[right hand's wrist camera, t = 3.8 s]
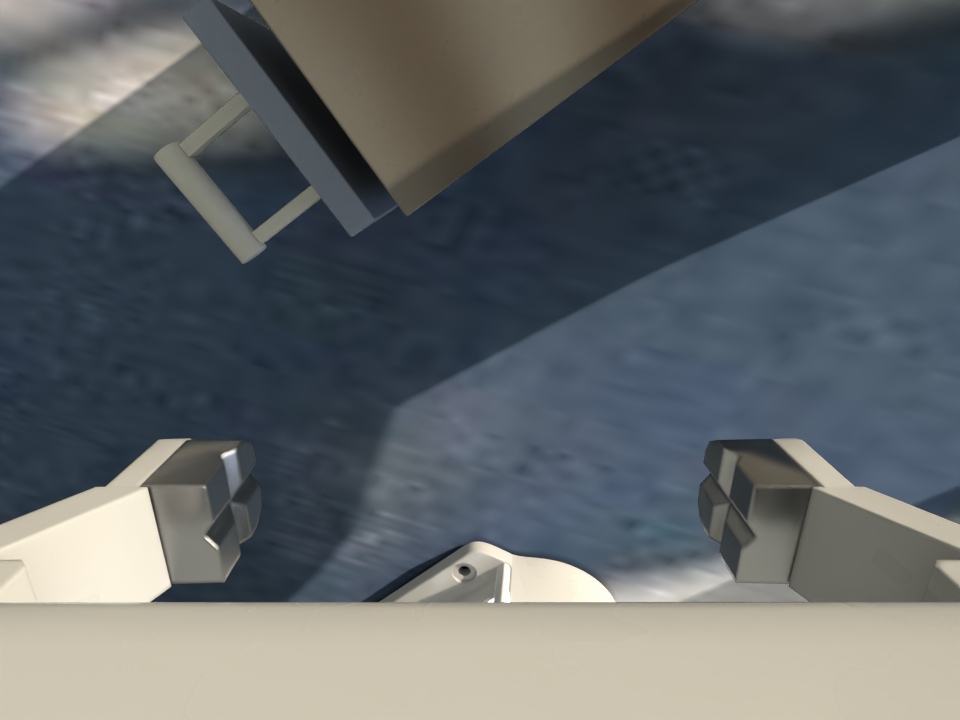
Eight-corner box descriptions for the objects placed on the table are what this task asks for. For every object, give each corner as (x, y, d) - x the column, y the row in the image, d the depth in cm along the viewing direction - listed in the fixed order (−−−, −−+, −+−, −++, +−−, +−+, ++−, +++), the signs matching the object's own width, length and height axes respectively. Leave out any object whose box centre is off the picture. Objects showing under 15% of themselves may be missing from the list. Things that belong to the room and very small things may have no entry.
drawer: (316, 267, 32) (249, 314, 23) (203, 126, 29) (75, 115, 20) (726, -41, 26) (854, -141, 17) (632, -246, 24) (723, -491, 15)
